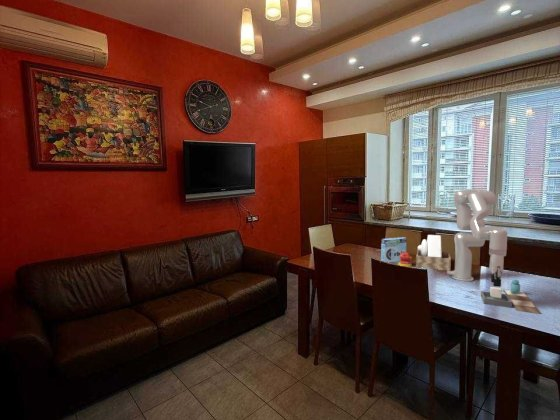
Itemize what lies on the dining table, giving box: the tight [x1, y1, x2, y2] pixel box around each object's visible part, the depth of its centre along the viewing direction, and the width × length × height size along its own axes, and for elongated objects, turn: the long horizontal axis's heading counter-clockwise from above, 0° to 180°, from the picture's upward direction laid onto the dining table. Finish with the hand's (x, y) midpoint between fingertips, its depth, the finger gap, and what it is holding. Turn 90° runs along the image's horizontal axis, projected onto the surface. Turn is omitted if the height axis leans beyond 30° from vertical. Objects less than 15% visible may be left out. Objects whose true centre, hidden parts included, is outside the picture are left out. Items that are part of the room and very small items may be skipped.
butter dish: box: [417, 234, 442, 258], centre depth 237 cm, size 18×18×16 cm
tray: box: [480, 290, 513, 309], centre depth 164 cm, size 12×12×3 cm
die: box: [489, 286, 503, 298], centre depth 165 cm, size 5×5×4 cm
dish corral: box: [415, 249, 452, 271], centre depth 235 cm, size 23×23×9 cm
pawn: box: [510, 279, 521, 294], centre depth 175 cm, size 4×4×8 cm
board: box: [503, 289, 542, 315], centre depth 165 cm, size 10×32×1 cm, turn 153°
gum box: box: [380, 236, 407, 265], centre depth 230 cm, size 20×5×23 cm, turn 106°
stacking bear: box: [398, 251, 413, 268], centre depth 205 cm, size 11×10×18 cm
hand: (495, 284), depth 164 cm, fingers open, 6 cm apart
